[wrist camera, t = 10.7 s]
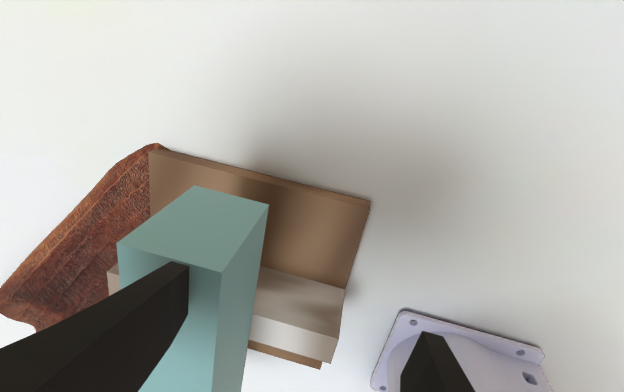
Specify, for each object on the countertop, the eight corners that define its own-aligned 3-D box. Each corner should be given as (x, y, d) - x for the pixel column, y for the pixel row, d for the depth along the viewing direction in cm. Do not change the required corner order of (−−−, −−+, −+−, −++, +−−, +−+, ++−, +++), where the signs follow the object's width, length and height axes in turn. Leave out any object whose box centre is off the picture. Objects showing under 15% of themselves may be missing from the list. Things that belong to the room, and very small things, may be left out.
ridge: (370, 201, 19) (368, 247, 15) (321, 358, 25) (310, 425, 21) (158, 147, 20) (96, 175, 16) (161, 310, 26) (116, 364, 22)
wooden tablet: (142, 122, 19) (251, 255, 20) (168, 118, 21) (265, 239, 22) (-20, 304, 29) (56, 385, 30) (8, 289, 31) (78, 366, 32)
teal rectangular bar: (237, 412, 22) (201, 508, 17) (186, 397, 22) (138, 486, 17) (268, 204, 15) (221, 272, 10) (194, 185, 15) (116, 242, 10)
